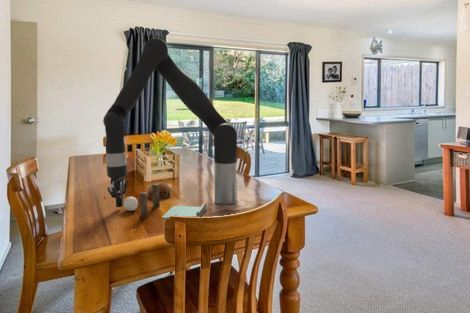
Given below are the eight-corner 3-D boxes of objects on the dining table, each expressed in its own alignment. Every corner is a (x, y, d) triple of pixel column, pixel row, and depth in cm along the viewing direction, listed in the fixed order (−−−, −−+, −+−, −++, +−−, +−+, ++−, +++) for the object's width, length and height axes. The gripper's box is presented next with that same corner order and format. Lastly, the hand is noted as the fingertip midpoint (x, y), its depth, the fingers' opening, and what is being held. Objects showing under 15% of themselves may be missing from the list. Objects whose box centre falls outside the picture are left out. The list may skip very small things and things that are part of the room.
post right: (160, 205, 146) (159, 184, 144) (158, 207, 144) (157, 185, 142) (154, 204, 146) (153, 183, 145) (152, 206, 144) (151, 185, 142)
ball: (125, 198, 142) (132, 210, 143) (118, 202, 137) (125, 214, 138) (135, 192, 141) (142, 204, 141) (129, 196, 136) (136, 209, 136)
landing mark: (207, 207, 143) (207, 207, 143) (198, 219, 129) (198, 219, 129) (173, 206, 145) (173, 205, 145) (161, 218, 131) (161, 217, 131)
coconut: (164, 199, 166) (159, 183, 167) (177, 194, 160) (171, 177, 161) (147, 204, 159) (141, 188, 160) (160, 199, 152) (154, 181, 153)
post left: (148, 215, 134) (147, 192, 132) (146, 217, 131) (145, 194, 130) (142, 215, 134) (141, 192, 133) (139, 217, 132) (138, 194, 130)
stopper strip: (206, 208, 142) (206, 202, 141) (199, 218, 130) (199, 212, 130) (204, 208, 142) (203, 202, 141) (196, 218, 130) (196, 212, 130)
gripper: (117, 167, 131) (120, 212, 134) (133, 160, 143) (135, 202, 147) (98, 167, 132) (102, 211, 135) (115, 160, 145) (118, 201, 148)
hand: (119, 206), depth 141 cm, fingers closed
